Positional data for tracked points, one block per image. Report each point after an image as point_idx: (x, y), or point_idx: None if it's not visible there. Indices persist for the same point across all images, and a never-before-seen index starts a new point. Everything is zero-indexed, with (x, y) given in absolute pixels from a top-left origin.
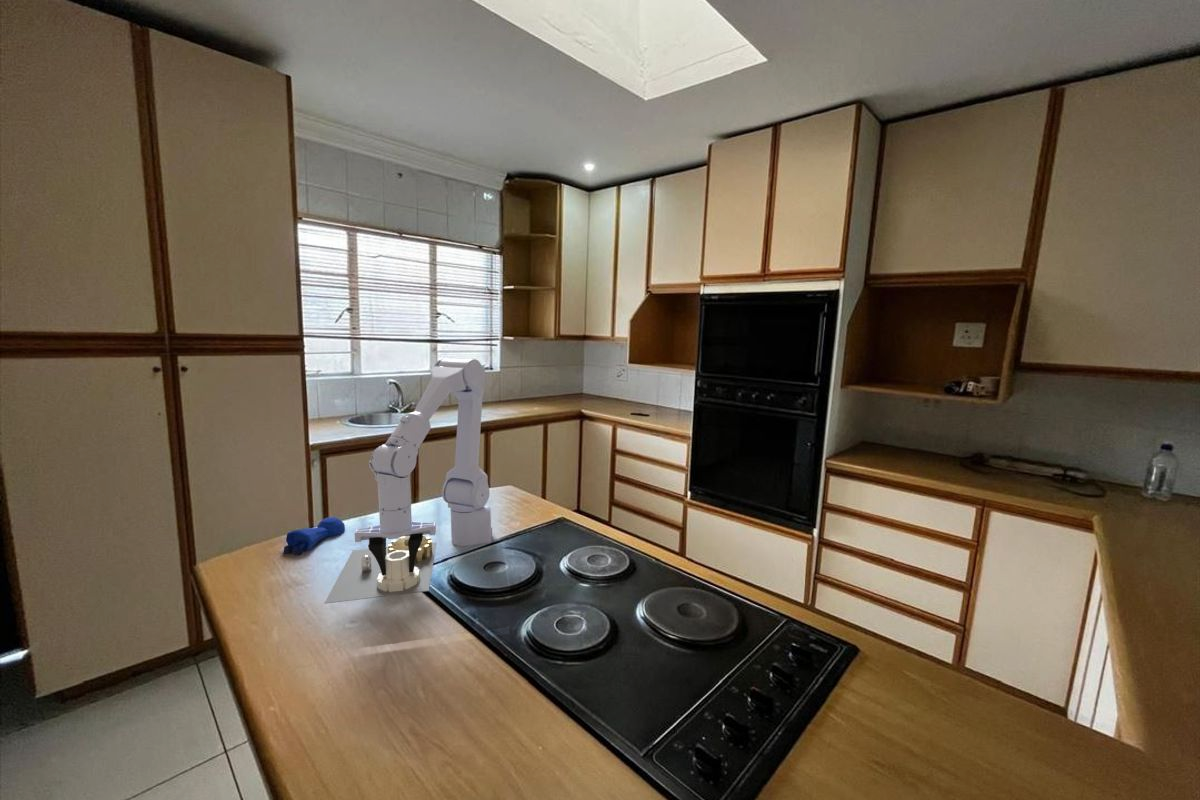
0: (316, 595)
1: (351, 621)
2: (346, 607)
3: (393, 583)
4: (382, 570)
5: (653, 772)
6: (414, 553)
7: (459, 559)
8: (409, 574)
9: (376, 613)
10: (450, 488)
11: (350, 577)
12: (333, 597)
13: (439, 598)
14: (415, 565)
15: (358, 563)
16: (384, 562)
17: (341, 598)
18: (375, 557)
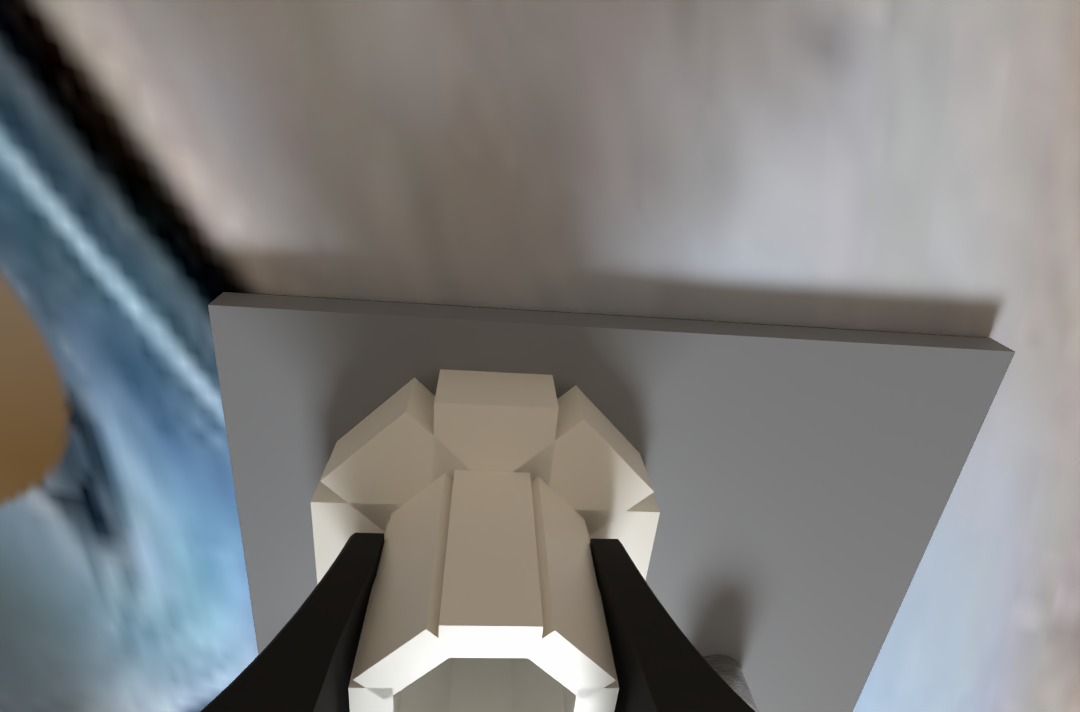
0: (1010, 497)
1: (838, 49)
2: (853, 290)
3: (518, 420)
4: (625, 569)
5: None
6: (248, 695)
7: (95, 708)
8: (390, 524)
9: (639, 117)
10: None
11: (813, 625)
12: (945, 412)
13: (107, 199)
14: None
15: None
16: (617, 645)
17: (896, 383)
18: (735, 693)
